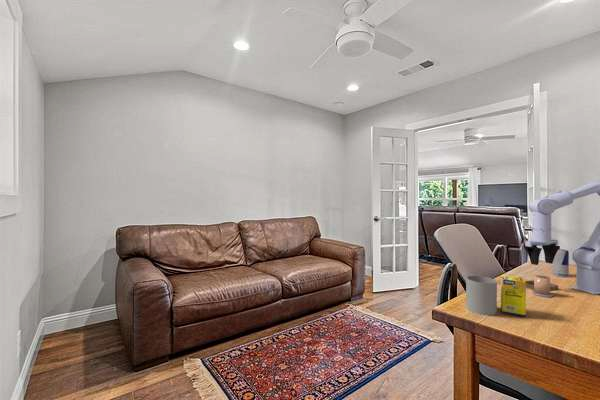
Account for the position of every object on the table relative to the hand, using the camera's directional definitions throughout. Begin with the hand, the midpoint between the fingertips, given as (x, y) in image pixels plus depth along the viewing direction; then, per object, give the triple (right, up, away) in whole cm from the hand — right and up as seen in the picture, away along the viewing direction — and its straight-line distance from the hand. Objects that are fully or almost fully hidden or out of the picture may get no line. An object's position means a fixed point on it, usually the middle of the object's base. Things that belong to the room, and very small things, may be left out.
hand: (541, 263), depth 112 cm
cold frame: (0, -10, +2) cm, 10 cm away
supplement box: (-28, -11, -23) cm, 38 cm away
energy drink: (+24, -10, +18) cm, 31 cm away
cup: (-37, -11, -21) cm, 44 cm away
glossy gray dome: (-5, -10, -7) cm, 13 cm away
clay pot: (-6, -9, -7) cm, 13 cm away
